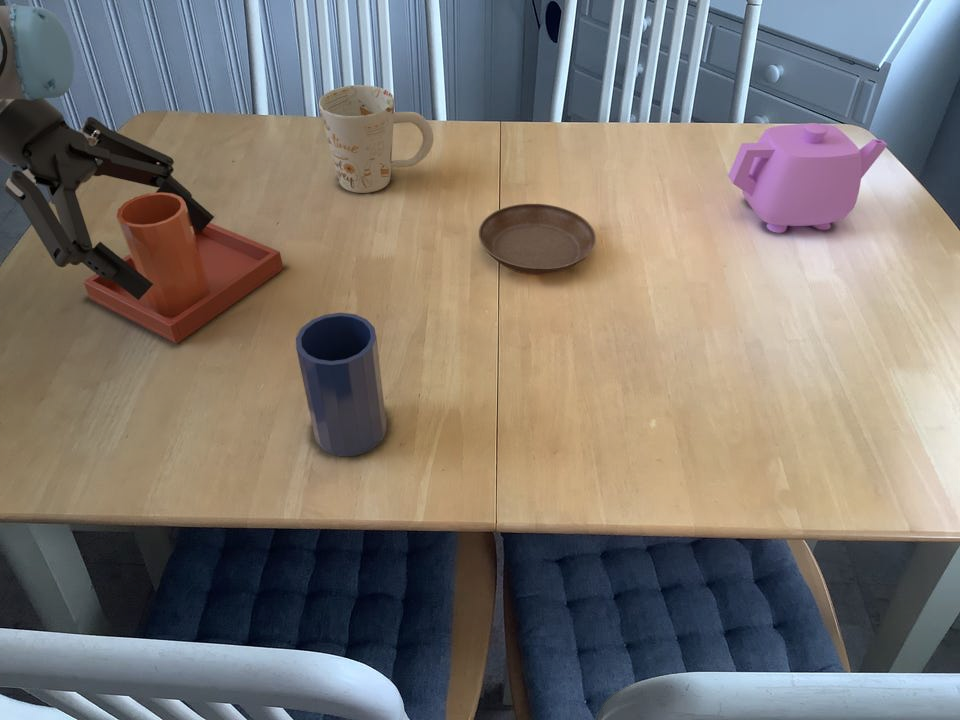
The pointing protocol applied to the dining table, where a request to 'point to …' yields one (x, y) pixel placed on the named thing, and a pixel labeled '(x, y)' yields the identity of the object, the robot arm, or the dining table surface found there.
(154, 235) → the terracotta tumbler
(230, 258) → the red tray
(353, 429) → the blue tumbler
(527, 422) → the dining table surface
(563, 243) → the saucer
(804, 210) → the teapot
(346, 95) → the mug
